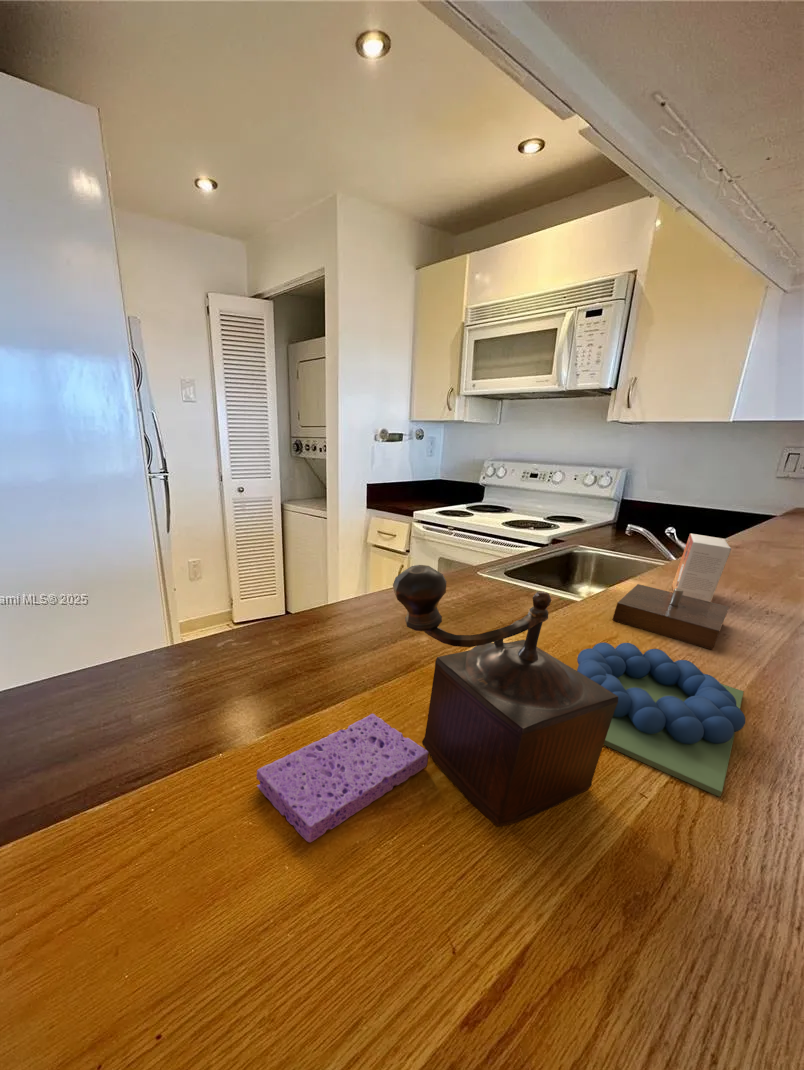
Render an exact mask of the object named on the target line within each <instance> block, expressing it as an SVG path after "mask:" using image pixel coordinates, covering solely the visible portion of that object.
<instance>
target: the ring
mask: <svg viewBox="0 0 804 1070" xmlns="http://www.w3.org/2000/svg"><path fill="white" fill-rule="evenodd" d="M576 659H577V664H578V666H577V668H576V669H577V670H576V671H578V672H580V673H581V674H583V675H585V676H586V677H588V678H589V679H591V680H593V681H594V682H596V683H598V684H599V685H601V686H602V687H604V688H606V689H607V690H609V691H610V692H612V693H613V694H615V695H617V696H618V703H617V706H616V708H615V711H614V714H613V716H614V717H623V716H626V715H627V714H628V716H629V718H630V719H631V721H632V722H633V724H634V725H635V727H636V728H637V729H638V730H640V731H641V732H643V733H647V734H655V733H658V732H660V731H661V730H662V729H663V728H664V727H665V728H666V729H667V731H668V732H669V733H670V735H671V736H672V737H673V738H674V739H675V740H676V741H678V742H680V743H683V744H694V743H697V742H698V741H700V740H701V738H702V737H703V738H704V739H705V740H707V741H709V742H711V743H715V744H721V743H725V742H727V741H729V740H730V739H731V738H732V736H733V734H734V732H735V733H738V732H739V731H741V730H743V728H744V726H745V725H746V717H745V714H744V712H743V711H742V710H741V708H740V709H739V708H738V707H737V706H736V700H735V698H734V696H733V695H732V694H731V693H730V692H729V691H728V690H727V689H726V688H725V687H724V686H723V685H724V684H723V683H721V682H720V681H719V680H717V678H716V677H714V676H712V675H711V674H707V673H704V672H702V671H701V669H700V668H699V667H697V665H696V664H694V663H693V662H691V661H690V660H688V659H678V660H675V661H673V659H672V658H671V657H670V656H669V655H668V654H667V653H666V652H665V651H664V650H661V649H660V648H651V649H648V650H646V651H645V652H644V653H643V652H642V651H641V650H640V649H639V647H637V645H635V644H633V643H631V642H622V643H619V644H618V645H617V646H616V647H614V646H613V645H612V644H611V643H608V642H598V643H596V644H595V645H594V646H592V648H590V647H589V648H584V649H582V650H581V651H580V652H579V653H578V655H577V658H576ZM624 672H625V673H626V674H627V675H629V676H630V677H633V678H643V677H645V676H646V675H648V673H650V674H651V675H652V676H653V678H654V679H655V680H656V681H657V682H658V683H660V684H662V685H668V686H669V685H674V684H677V685H678V686H679V687H680V688H681V689H682V690H683V691H684V693H685V694H686V695H688V696H689V698H687V699H686V700H685V701H684V702H683V701H682V700H681V699H679V698H677V697H674V696H664V697H662V698H660V699H658V700H657V702H656V703H655V701H654V700H653V699H652V697H651V696H650V695H649V694H648V693H647V692H646V691H645V690H643V689H641V688H635V687H634V688H629V689H627V690H625V688H624V687H623V686H622V684H621V683H620V681H619V680H618V679H617V678H618V677H620V676H622V675H623V674H624ZM722 684H723V685H722Z"/></svg>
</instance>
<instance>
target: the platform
mask: <svg viewBox="0 0 804 1070" xmlns="http://www.w3.org/2000/svg"><path fill="white" fill-rule="evenodd" d="M682 594H683V590H682V589H678V588H675V589H674V592H673V591H672V592H671V591H667V590H665V589H660V588H656V587H651V586H647V585H644V584H640V583H637V584H636V585H635V586H634V587H632V588H631V590H629V592H628V593H626V594H625V595H624V596H623V597H622V598H621V599H619V601H618V602H617V603H616V606H615V609H614V610H615V611H614V613H613V616H612V619H611V620H612V621H613V622H617V623H619V624H620V623H621V624H624V625H627V626H630V627H634V628H637V629H640V630H643V631H647V632H650V633H653V634H657V635H660V636H664V637H666V638H671V639H674V640H677V641H680V642H684V643H687V644H690V645H694V646H697V647H700V648H704V649H707V650H710V651H712V650H714V647H715V644H716V642H717V640H718V636H719V634H720V631H721V629H722V626H723V624H724V622H725V620H726V617H727V614H728V611H729V609H730V606H729V605H724V604H720V603H716V602H712V601H711V602H708V601H704V600H700V599H696V598H692V597H688V596H684V595H682Z"/></svg>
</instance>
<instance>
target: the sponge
mask: <svg viewBox="0 0 804 1070" xmlns="http://www.w3.org/2000/svg"><path fill="white" fill-rule="evenodd" d="M428 756H429V752H428V751H427V750H426V748H425V747H423V746H421V745H419V744H418V743H417V742H415V741H414V740H412V739H411V738H409V737H404V736H403V733H402V732H400V731H399V730H397V729H396V728H394V727H391V725H390V724H388V723H387V722H385V720H383V719H382V718H381V717H379V716H377V715H376V714H375V713H370V714H369V715H367V716H366V717H363V718H361V719H359V720H357V721H355V722H354V723H352V724H350V725H348V726H347V729H339V730H337V731H336V732H335V731H334V732H333V733H330V734H328V735H327V736H325V737H323V738H320V739H319V740H316V741H313V742H311V743H310V744H307V745H305V746H303V747H301V748H299V749H298V750H295V751H293V752H291V753H290V754H287V755H285V756H283V757H282V758H278V759H277V760H274V761H272V762H271V763H268V764H264V766H261V767H259V768H258V769H257V770H256V780H257V781H259V783H260V784H256V787H257V788H258V790H259V791H260V792H261V793H262V794H263V795H264V797H265V798H267V799H268V801H269V802H270V803H271V804H272V806H273V807H274V808H275V809H276V810H277V811H278V812H279V814H280V815H281V816H285V818H286V821H287V822H288V823H289V825H292V826H293V828H294V830H295V832H297V833H298V834H299V835H300V836H301V837H302V838H303V839H304V840H305V841H306V842H308V843H312V842H314V841H315V840H317V839H319V838H320V837H322V836H323V835H324V834H325V833H326V832H327V831H328V830H333V829H335V828H336V827H338V826H340V825H341V824H342V823H343V822H345V821H346V820H348V819H349V818H351V817H353V815H355V814H356V813H358V812H360V811H361V810H363V809H364V808H366V807H368V806H370V805H371V804H372V803H373V802H375V801H376V800H378V799H380V798H381V797H383V796H384V795H385V794H386V793H389V792H390V791H392V790H393V789H394V786H400V784H402V783H405V782H406V781H407V780H409V778H410V777H412V776H415V775H416V774H418V773H419V772H420V771H422V770H423V769H425V768H427V766H428V761H429V760H428V759H429V758H428Z"/></svg>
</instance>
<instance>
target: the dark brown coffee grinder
mask: <svg viewBox="0 0 804 1070" xmlns="http://www.w3.org/2000/svg"><path fill="white" fill-rule="evenodd" d="M392 589H393V592H394V595H395V597H396V599H397V601H398V602H399V603H400V604H401V605H402V606H403V607H404V608H405V610H406V616H405V617H404V622H405V625H406V627H407V628H409V629H411V630H413V631H416V632H424V633H425V634H426V635H427V636H429V637H431V638H433V639H435V640H436V641H438V642H440V643H442V644H443V645H444V644H445V645H447V646H452V647H459V648H471V649H469V650H465V651H460V652H459V651H458V652H455V653H449V654H446V655H439V656H437V657H436V659H435V662H434V672H433V678H432V685H431V692H430V699H429V706H428V712H427V719H426V720H427V721H426V725H425V726H426V727H425V733H424V737H423V739H422V741H421V744H422V745H423V746H424V747H423V748H424V749H425V750H427V751H428V752H429V753H428V755H429V756H430V757H431V759H432V760H433V762H434V763H435V765H436V766H437V767H438V768H439V769H440V771H442V772H443V773H444V774H445V776H446V777H447V778H448V779H449V781H450V782H451V783H452V784H453V785H454V786H455V788H457V789H458V791H459V792H460V793H461V794H462V795H463V797H464V798H466V799H467V800H468V802H469V803H470V804H471V805H472V806H473V807H474V808H476V809H477V810H478V811H479V812H480V813H481V814H482V815H483V816H484V817H486V818H487V819H488V820H489V821H490V822H492V823H493V825H495V826H496V827H497V828H498V827H502V826H508V825H513V824H517V823H519V822H522V821H524V820H526V819H529V818H531V817H533V816H536V815H539V814H540V813H543V812H544V811H547V810H550V809H552V808H554V807H556V806H558V805H560V804H562V803H564V802H566V801H568V800H570V799H573V798H574V797H576V796H578V795H580V794H582V793H585V791H587V790H589V789H591V787H592V784H593V779H594V776H595V772H596V770H597V766H598V763H599V759H600V756H601V754H602V751H603V748H604V746H605V745H604V742H605V739H606V736H607V733H608V730H609V727H610V723H611V720H612V717H613V714H614V711H615V708H616V706H617V703H618V696H617V695H615V694H613V693H612V692H610V691H609V690H607V689H606V688H604V687H602V686H601V685H599V684H598V683H596V682H594V681H593V680H591V679H589V678H588V677H586V676H585V675H583V674H581V673H580V672H578V671H577V670H576V669H575V668H573V667H571V666H570V665H568V664H566V663H564V662H563V661H561V660H559V659H557V658H556V657H554V656H553V655H551V654H549V653H548V652H546V651H545V650H543V649H541V648H540V647H538V641H539V637H540V633H541V630H542V626H543V624H544V623H543V622H546V621H548V620H549V611H548V608H549V606H550V605H551V602H552V597H551V595H550V593H549V592H547V591H543V590H539V591H536V592H535V593H534V595H533V596H532V607H531V608H529V610H528V613H527V614H526V615H525V616H523V617H521V618H520V619H517V620H515V621H514V622H512V623H511V624H509V625H506V626H503V627H499V628H497V629H493V630H490V631H486V632H483V633H478V634H476V633H475V634H454V633H452V632H448V631H446V630H444V629H442V628H440V627H439V626H440V625H441V624H442V622H443V616H442V614H441V613H440V611H439V608H438V605H439V604H440V601H441V599H442V598H443V597H444V596H445V594H446V593H447V579H446V578H445V575H444V574H443V573H442V572H440V571H438V570H436V569H435V568H433V567H431V566H430V565H425V564H416V565H411V566H409V567H408V568H406V569H404V570H403V571H402V572H401V573H399V574H398V575H397V576H396V577H395V578H394V580H393V583H392ZM526 631H527V632H526ZM524 632H526V637H525V639H520V640H514V641H508V642H504V640H505V639H508V638H511V637H514V636H517V635H520V634H522V633H524Z"/></svg>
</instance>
